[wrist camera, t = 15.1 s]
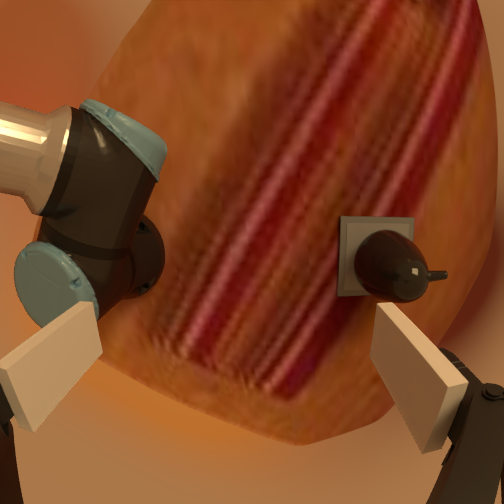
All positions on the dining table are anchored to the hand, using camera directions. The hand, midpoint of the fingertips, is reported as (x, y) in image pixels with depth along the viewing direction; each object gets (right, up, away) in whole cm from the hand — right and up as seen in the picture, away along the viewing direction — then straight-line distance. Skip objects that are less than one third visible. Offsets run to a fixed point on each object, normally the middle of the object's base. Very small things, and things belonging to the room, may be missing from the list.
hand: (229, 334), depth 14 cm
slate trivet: (+21, +3, +36) cm, 42 cm away
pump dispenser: (+21, +3, +36) cm, 42 cm away
